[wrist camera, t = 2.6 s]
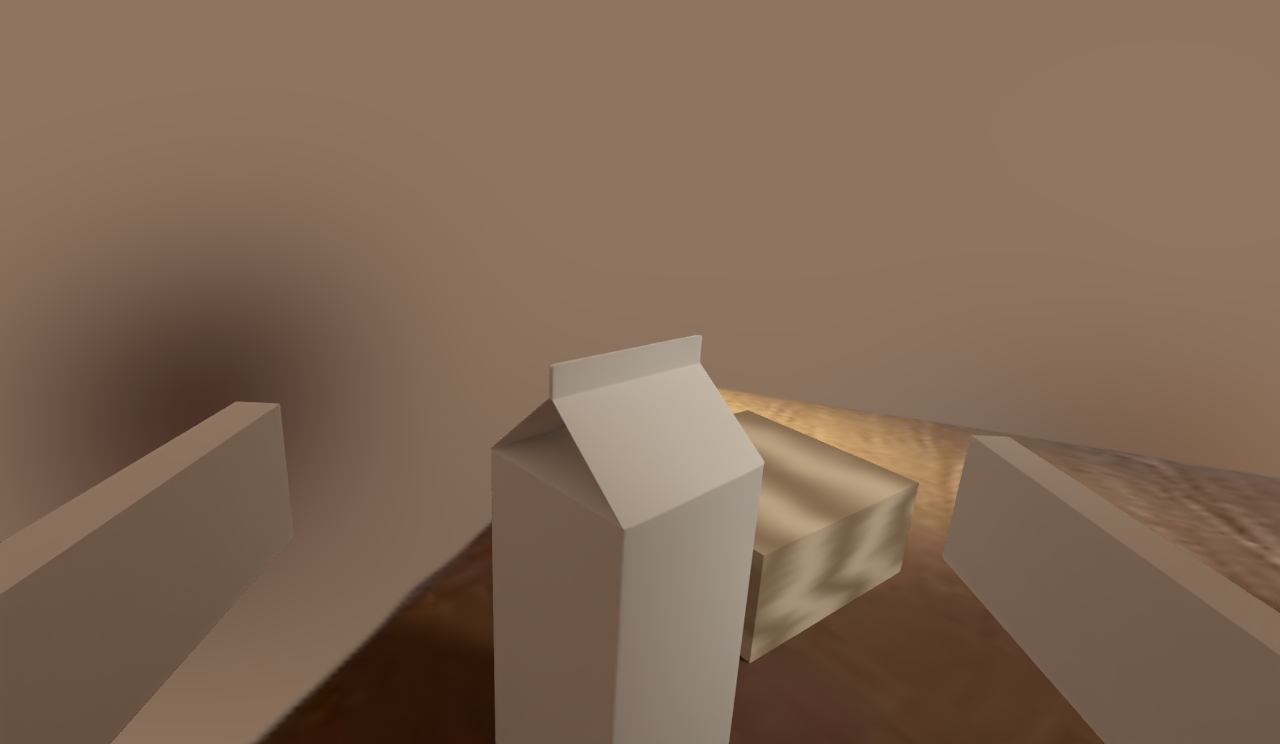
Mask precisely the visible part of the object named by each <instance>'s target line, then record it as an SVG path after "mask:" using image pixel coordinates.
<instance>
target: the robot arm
mask: <svg viewBox="0 0 1280 744" xmlns="http://www.w3.org/2000/svg"><path fill="white" fill-rule="evenodd" d="M293 536H294V533H293V524H292V515H291V505H290V497H289V487H288V478H287V468H286V459H285V449H284V440H283V430H282V421H281V412H280V404H276V403H254V402H253V403H252V402H235V403H233V404H232V405H230V406H228V407H226V408H225V409H223V410H221V411H220V412H218V413H216V414H215V415H213V416H211V417H210V418H208V419H207V420H205V421H203V422H202V423H200V424H198V425H197V426H195V427H193V428H191V429H190V430H188V431H187V432H185V433H183V434H181V435H180V436H178V437H176V438H175V439H173V440H171V441H170V442H168V443H166V444H165V445H163V446H161V447H160V448H158V449H156V450H155V451H153V452H151V453H150V454H148V455H146V456H145V457H143V458H141V459H140V460H138V461H136V462H135V463H133V464H131V465H130V466H128V467H126V468H124V469H123V470H121V471H119V472H118V473H116V474H115V475H113V476H111V477H109V478H108V479H106V480H104V481H103V482H101V483H99V484H98V485H96V486H95V487H93V488H91V489H89V490H88V491H86V492H84V493H83V494H81V495H79V496H78V497H76V498H74V499H73V500H71V501H69V502H68V503H66V504H64V505H63V506H61V507H59V508H58V509H56V510H54V511H53V512H51V513H49V514H48V515H46V516H44V517H43V518H41V519H39V520H38V521H36V522H34V523H33V524H31V525H29V526H28V527H26V528H24V529H22V530H21V531H19V532H17V533H16V534H14V535H12V536H11V537H9V538H7V539H6V540H4V541H3V542H0V744H110V743H111V742H112V741H113V740H114V739H115V738H116V737H117V735H118V734H119V733H120V732H121V731H122V730H123V729H124V728H125V726H126V725H127V724H128V723H129V722H130V721H131V720H132V719H133V717H134V716H135V715H136V714H137V713H138V712H139V711H140V710H141V708H142V707H143V706H144V705H145V704H146V703H147V702H148V700H149V699H150V698H151V697H152V696H153V695H154V693H156V691H157V690H158V689H159V688H160V687H161V686H162V685H163V683H164V682H165V681H166V680H167V679H168V678H169V677H170V675H171V674H172V673H173V672H174V671H175V670H176V669H177V668H178V666H179V665H180V664H181V663H182V662H183V661H184V660H185V659H186V657H187V656H188V655H189V654H190V653H191V652H192V651H193V650H194V648H195V647H196V646H197V645H198V644H199V643H200V641H201V640H202V639H203V638H204V637H205V636H206V635H207V634H208V632H209V631H210V630H211V629H212V628H213V627H214V626H215V625H216V624H217V622H218V621H219V620H220V619H221V618H222V617H223V616H224V614H225V613H226V612H227V611H228V610H229V609H230V608H231V607H232V605H233V604H234V603H235V602H236V601H237V600H238V599H239V597H240V596H241V595H242V594H243V593H244V592H245V591H246V590H247V588H248V587H249V586H250V585H251V584H252V583H253V582H254V581H255V579H256V578H257V577H258V576H259V575H260V574H261V572H262V571H263V570H264V569H265V568H266V567H267V566H268V565H269V563H270V562H271V561H272V560H273V559H274V558H275V556H276V555H277V554H278V553H279V552H280V551H281V550H282V549H283V548H284V547H285V545H286V544H287V543H288V542H289V541H290V540H291V538H293ZM942 558H943V559H944V560H945V561H946V562H947V564H948V565H949V566H950V567H951V568H952V569H953V570H954V572H955V573H956V574H957V575H958V576H959V577H960V578H961V580H962V581H963V582H964V583H965V584H966V585H967V586H968V588H969V589H970V590H971V591H972V592H973V593H974V594H975V596H976V597H977V598H978V599H979V600H980V601H981V602H982V604H983V605H984V606H985V607H986V608H987V609H988V610H989V612H990V613H991V614H992V615H993V616H994V617H995V618H996V620H997V621H998V622H999V623H1000V624H1001V625H1002V626H1003V628H1004V629H1005V630H1006V631H1007V632H1008V633H1009V634H1010V636H1011V637H1012V638H1013V639H1014V640H1015V641H1016V642H1017V644H1018V645H1019V646H1020V647H1021V648H1022V649H1023V650H1024V652H1025V653H1026V654H1027V655H1028V656H1029V657H1030V658H1031V660H1032V661H1033V662H1034V663H1035V664H1036V665H1037V666H1038V668H1039V669H1040V670H1041V671H1042V672H1043V673H1044V674H1045V676H1046V677H1047V678H1048V679H1049V680H1050V681H1051V682H1052V684H1053V685H1054V686H1055V687H1056V688H1057V689H1058V690H1059V692H1060V693H1061V694H1062V695H1063V696H1064V697H1065V698H1066V700H1067V701H1068V702H1069V703H1070V704H1071V705H1072V706H1073V708H1074V709H1075V710H1076V711H1077V712H1078V713H1079V714H1080V716H1081V717H1082V718H1083V719H1084V720H1085V721H1086V722H1087V724H1088V725H1089V726H1090V727H1091V728H1092V729H1093V730H1094V732H1095V733H1096V734H1097V735H1098V736H1099V737H1100V738H1101V740H1102V741H1103V742H1104V743H1105V744H1280V613H1279V612H1277V611H1276V610H1274V609H1273V608H1271V607H1270V606H1268V605H1267V604H1265V603H1263V602H1262V601H1260V600H1259V599H1257V598H1256V597H1254V596H1253V595H1251V594H1250V593H1248V592H1247V591H1245V590H1243V589H1242V588H1240V587H1239V586H1237V585H1236V584H1234V583H1233V582H1231V581H1230V580H1228V579H1227V578H1225V577H1223V576H1222V575H1220V574H1219V573H1217V572H1216V571H1214V570H1213V569H1211V568H1210V567H1208V566H1207V565H1205V564H1203V563H1202V562H1200V561H1199V560H1197V559H1196V558H1194V557H1193V556H1191V555H1190V554H1188V553H1186V552H1185V551H1183V550H1182V549H1180V548H1179V547H1177V546H1176V545H1174V544H1173V543H1171V542H1170V541H1168V540H1166V539H1165V538H1163V537H1162V536H1160V535H1159V534H1157V533H1156V532H1154V531H1153V530H1151V529H1150V528H1148V527H1146V526H1145V525H1143V524H1142V523H1140V522H1139V521H1137V520H1136V519H1134V518H1133V517H1131V516H1130V515H1128V514H1126V513H1125V512H1123V511H1122V510H1120V509H1119V508H1117V507H1116V506H1114V505H1113V504H1111V503H1110V502H1108V501H1106V500H1105V499H1103V498H1102V497H1100V496H1099V495H1097V494H1096V493H1094V492H1093V491H1091V490H1090V489H1088V488H1086V487H1085V486H1083V485H1082V484H1080V483H1079V482H1077V481H1076V480H1074V479H1073V478H1071V477H1069V476H1068V475H1066V474H1065V473H1063V472H1062V471H1060V470H1059V469H1057V468H1056V467H1054V466H1053V465H1051V464H1049V463H1048V462H1046V461H1045V460H1043V459H1042V458H1040V457H1039V456H1037V455H1036V454H1034V453H1033V452H1031V451H1029V450H1028V449H1026V448H1025V447H1023V446H1022V445H1020V444H1019V443H1017V442H1016V441H1014V440H1013V439H1011V438H1009V437H999V436H977V435H971V438H970V442H969V446H968V450H967V455H966V459H965V463H964V467H963V471H962V476H961V480H960V484H959V488H958V493H957V497H956V501H955V505H954V509H953V514H952V518H951V522H950V526H949V530H948V535H947V539H946V543H945V547H944V551H943V556H942Z"/></svg>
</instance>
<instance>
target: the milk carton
mask: <svg viewBox="0 0 1280 744" xmlns="http://www.w3.org/2000/svg"><path fill="white" fill-rule="evenodd" d="M701 342H702V336H700V335H694V336H689V337H684V338H679V339H674V340H669V341H664V342H659V343H654V344H649V345H644V346H640V347H635V348H630V349H625V350H620V351H615V352H610V353H605V354H600V355H595V356H591V357H585V358H580V359H575V360H571V361H566V362H561V363H556V364H552V365H550V371H549V372H550V373H549V398H548V399H547V400H546V401H545V402H544V403H543V404H541V405H540V406H539V407H538V408H537V409H536V410H534V411H533V412H532V413H531V414H530V415H529V416H528V417H526V418H525V419H524V420H523V421H522V422H521V423H519V424H518V425H517V426H516V427H515V428H514V429H513V430H511V431H510V432H509V433H508V434H507V435H506V436H504V437H503V438H502V439H501V440H500V441H498V442H497V443H496V444H495V445H494V446H493V447H492V448H491V450H492V454H491V455H492V457H491V475H492V477H491V478H492V480H491V481H492V547H493V612H494V677H495V742H496V744H729V737H730V729H731V721H732V713H733V705H734V697H735V689H736V681H737V673H738V665H739V658H740V650H741V642H742V634H743V626H744V618H745V610H746V602H747V594H748V586H749V578H750V570H751V562H752V554H753V546H754V538H755V531H756V523H757V515H758V507H759V499H760V491H761V483H762V475H763V467H764V460H763V459H762V457H761V456H760V454H759V453H758V451H757V449H756V448H755V446H754V445H753V443H752V442H751V440H750V439H749V437H748V436H747V434H746V433H745V431H744V430H743V428H742V427H741V425H740V423H739V422H738V420H737V419H736V417H735V416H734V414H733V413H732V411H731V410H730V408H729V407H728V405H727V404H726V402H725V401H724V399H723V397H722V396H721V394H720V393H719V391H718V390H717V388H716V387H715V385H714V384H713V382H712V381H711V379H710V378H709V376H708V374H707V373H706V371H705V370H704V368H703V367H702V365H701V364H700V353H701Z"/></svg>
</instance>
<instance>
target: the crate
mask: <svg viewBox="0 0 1280 744" xmlns="http://www.w3.org/2000/svg"><path fill="white" fill-rule="evenodd" d="M734 416H735V417H736V419H737V420H738V422H739V423H740V425H741V427H742V428H743V430H744V431H745V433H746V434H747V436H748V437H749V439H750V440H751V442H752V443H753V445H754V446H755V448H756V449H757V451H758V453H759V454H760V456H761V457H762V459H763V460H764V467H763V475H762V483H761V491H760V499H759V507H758V515H757V523H756V531H755V538H754V546H753V554H752V562H751V570H750V578H749V586H748V594H747V602H746V610H745V618H744V626H743V634H742V642H741V650H740V656H741V657H743V658H744V659H745V660H746V661H747V662H749V663H751V662H753V661H754V660H756V659H757V658H759V657H761V656H762V655H764V654H766V653H767V652H769V651H771V650H772V649H774V648H775V647H777V646H779V645H780V644H782V643H784V642H785V641H787V640H789V639H790V638H792V637H794V636H795V635H797V634H798V633H800V632H802V631H803V630H805V629H807V628H808V627H810V626H812V625H813V624H815V623H816V622H818V621H820V620H821V619H823V618H825V617H826V616H828V615H830V614H831V613H833V612H834V611H836V610H838V609H839V608H841V607H843V606H844V605H846V604H848V603H849V602H851V601H852V600H854V599H856V598H857V597H859V596H861V595H862V594H864V593H866V592H867V591H869V590H871V589H872V588H874V587H875V586H877V585H879V584H880V583H882V582H884V581H885V580H887V579H889V578H890V577H892V576H893V575H895V574H897V573H898V572H900V570H901V565H902V561H903V556H904V551H905V546H906V542H907V537H908V532H909V527H910V523H911V518H912V513H913V508H914V504H915V499H916V494H917V489H918V485H919V483H918V482H915V481H913V480H911V479H908V478H906V477H904V476H901V475H899V474H897V473H894V472H892V471H890V470H887V469H885V468H883V467H880V466H878V465H875V464H873V463H871V462H868V461H866V460H864V459H861V458H859V457H857V456H854V455H852V454H850V453H847V452H845V451H843V450H840V449H838V448H835V447H833V446H831V445H828V444H826V443H824V442H821V441H819V440H817V439H814V438H812V437H810V436H807V435H805V434H803V433H800V432H798V431H795V430H793V429H791V428H788V427H786V426H784V425H781V424H779V423H777V422H774V421H772V420H770V419H767V418H765V417H763V416H760V415H758V414H755V413H753V412H751V411H748V410H747V411H744V412H740V413H736V414H734Z"/></svg>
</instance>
